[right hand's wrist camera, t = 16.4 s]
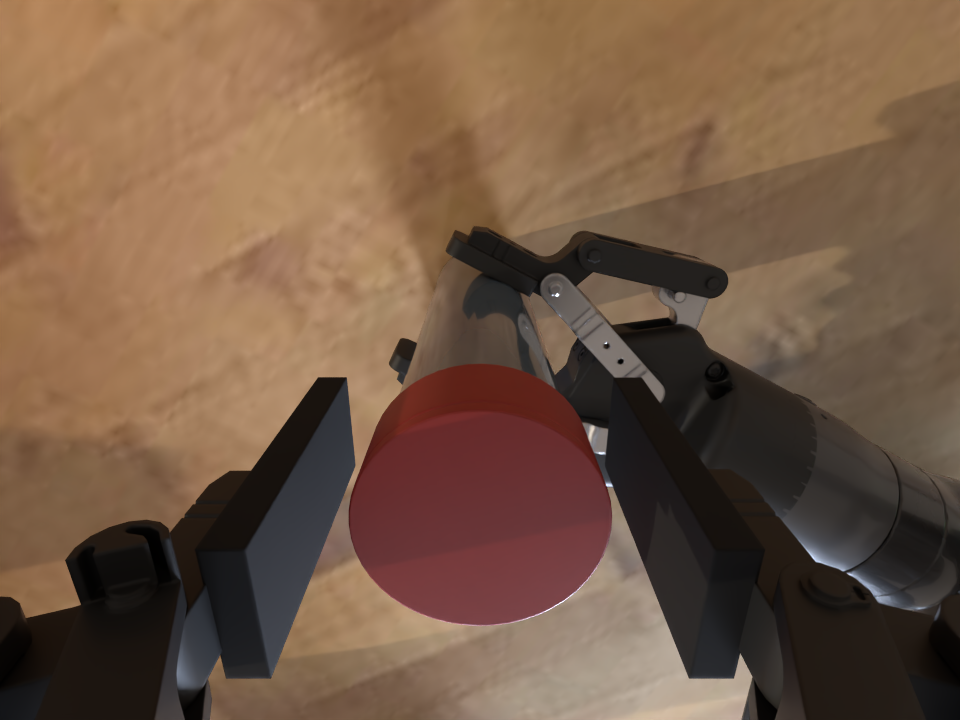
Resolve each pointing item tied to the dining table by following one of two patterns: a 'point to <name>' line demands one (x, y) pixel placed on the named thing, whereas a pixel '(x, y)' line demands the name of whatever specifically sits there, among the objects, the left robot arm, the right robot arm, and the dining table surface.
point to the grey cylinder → (478, 327)
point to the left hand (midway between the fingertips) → (423, 299)
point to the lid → (480, 498)
